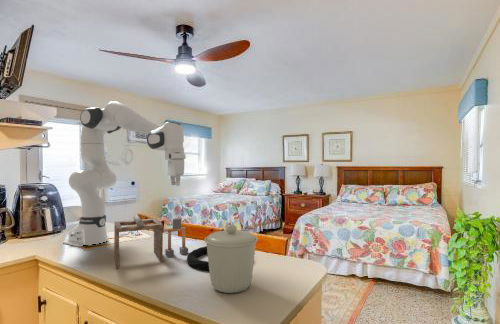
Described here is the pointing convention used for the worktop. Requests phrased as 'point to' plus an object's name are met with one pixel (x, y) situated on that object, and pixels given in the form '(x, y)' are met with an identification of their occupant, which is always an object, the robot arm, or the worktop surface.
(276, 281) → the worktop surface
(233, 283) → the canister
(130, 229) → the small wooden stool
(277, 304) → the worktop surface
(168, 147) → the robot arm
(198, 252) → the cable lock
